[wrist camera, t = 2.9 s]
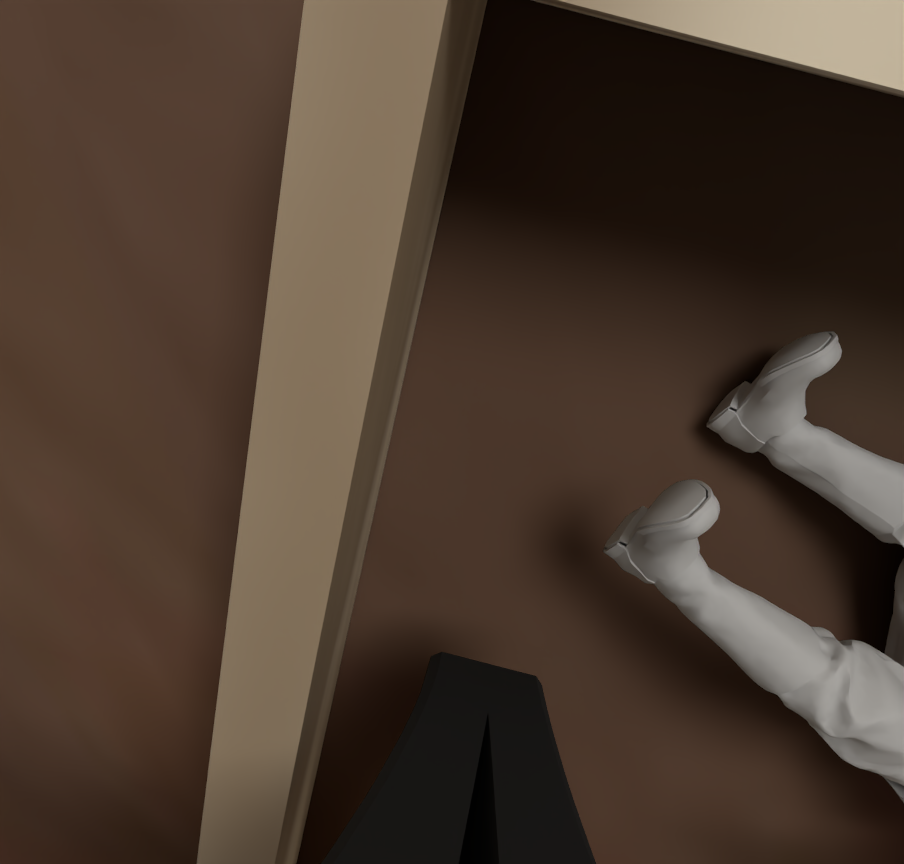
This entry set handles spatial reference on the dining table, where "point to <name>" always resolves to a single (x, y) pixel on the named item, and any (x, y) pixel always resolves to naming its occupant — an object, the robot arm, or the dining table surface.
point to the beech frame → (387, 343)
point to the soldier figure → (754, 618)
